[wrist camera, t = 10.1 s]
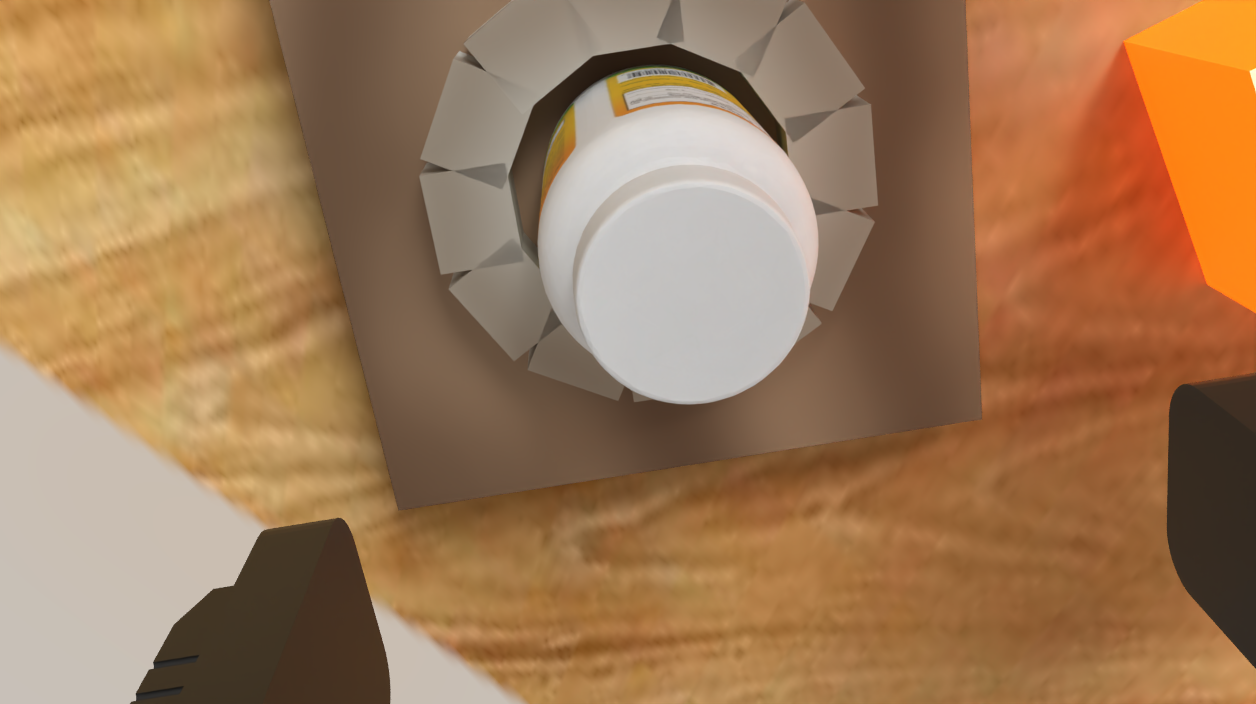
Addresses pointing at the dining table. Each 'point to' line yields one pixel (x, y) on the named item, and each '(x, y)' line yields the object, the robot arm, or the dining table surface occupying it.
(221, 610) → the robot arm
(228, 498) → the dining table surface
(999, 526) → the dining table surface
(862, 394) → the stone ring base
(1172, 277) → the dining table surface
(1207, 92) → the orange juice
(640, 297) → the supplement bottle
